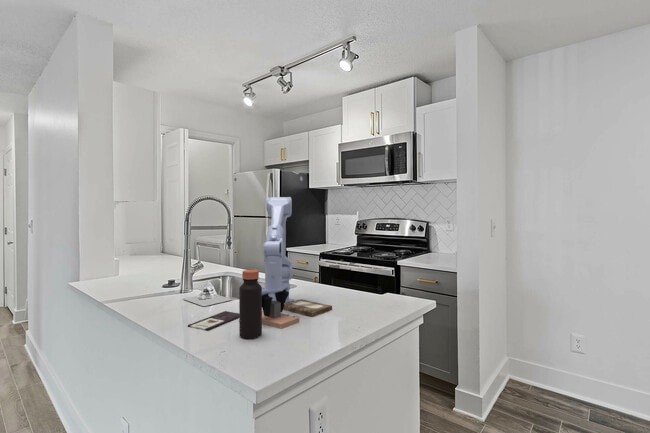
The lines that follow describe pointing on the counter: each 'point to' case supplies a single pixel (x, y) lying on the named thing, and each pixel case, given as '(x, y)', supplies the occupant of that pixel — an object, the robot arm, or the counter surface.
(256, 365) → the counter surface
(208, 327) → the chocolate bar
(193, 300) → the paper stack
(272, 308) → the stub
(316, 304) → the board
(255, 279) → the bottle
